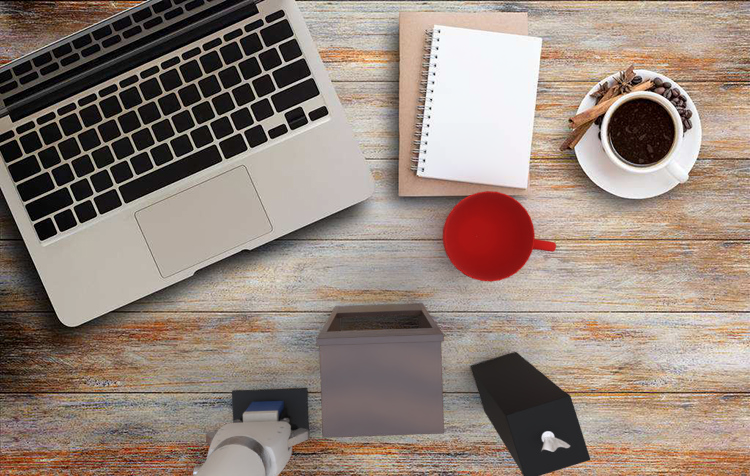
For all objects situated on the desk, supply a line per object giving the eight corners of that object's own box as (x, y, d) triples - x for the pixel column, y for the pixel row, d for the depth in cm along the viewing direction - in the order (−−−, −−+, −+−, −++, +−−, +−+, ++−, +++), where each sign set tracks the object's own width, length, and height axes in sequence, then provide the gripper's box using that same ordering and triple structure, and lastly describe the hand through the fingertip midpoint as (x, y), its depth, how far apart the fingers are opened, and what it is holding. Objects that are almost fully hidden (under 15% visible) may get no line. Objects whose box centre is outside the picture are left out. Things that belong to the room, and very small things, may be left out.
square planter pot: (425, 377, 88) (447, 443, 60) (338, 380, 88) (319, 448, 60) (422, 303, 88) (443, 334, 60) (335, 306, 88) (315, 338, 60)
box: (284, 432, 86) (277, 447, 80) (253, 433, 86) (243, 448, 80) (283, 400, 86) (276, 413, 80) (251, 401, 86) (242, 414, 80)
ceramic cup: (534, 286, 87) (554, 292, 77) (430, 269, 88) (437, 274, 78) (547, 206, 87) (569, 202, 77) (443, 190, 88) (451, 184, 77)
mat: (309, 437, 88) (308, 438, 87) (234, 440, 88) (233, 441, 87) (307, 387, 88) (306, 388, 87) (232, 390, 88) (231, 391, 87)
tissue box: (469, 365, 88) (512, 425, 60) (516, 350, 88) (581, 403, 60) (484, 411, 88) (533, 493, 60) (530, 397, 87) (602, 472, 59)
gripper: (170, 501, 67) (214, 444, 85) (308, 496, 67) (323, 440, 85) (167, 440, 67) (212, 396, 85) (306, 435, 67) (321, 392, 85)
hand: (267, 419), depth 85 cm, fingers closed on box, 5 cm apart
